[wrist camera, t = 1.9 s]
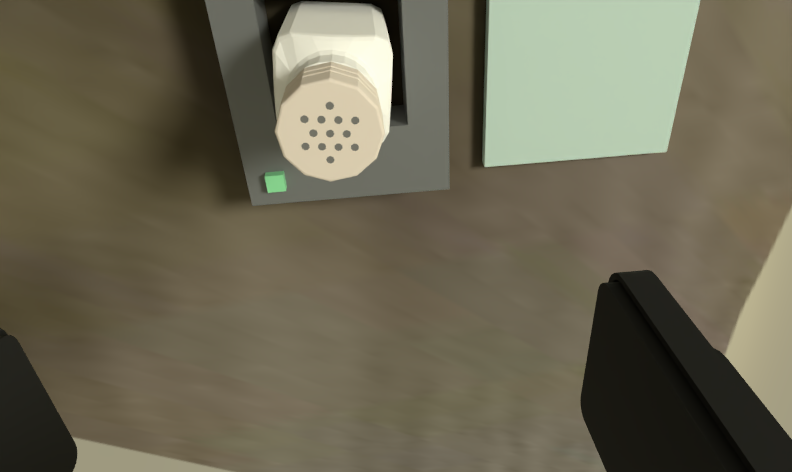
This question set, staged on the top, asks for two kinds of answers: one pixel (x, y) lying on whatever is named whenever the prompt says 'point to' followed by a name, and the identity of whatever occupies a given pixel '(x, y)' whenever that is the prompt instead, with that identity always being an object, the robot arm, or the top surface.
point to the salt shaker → (332, 87)
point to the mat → (582, 77)
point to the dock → (409, 123)
